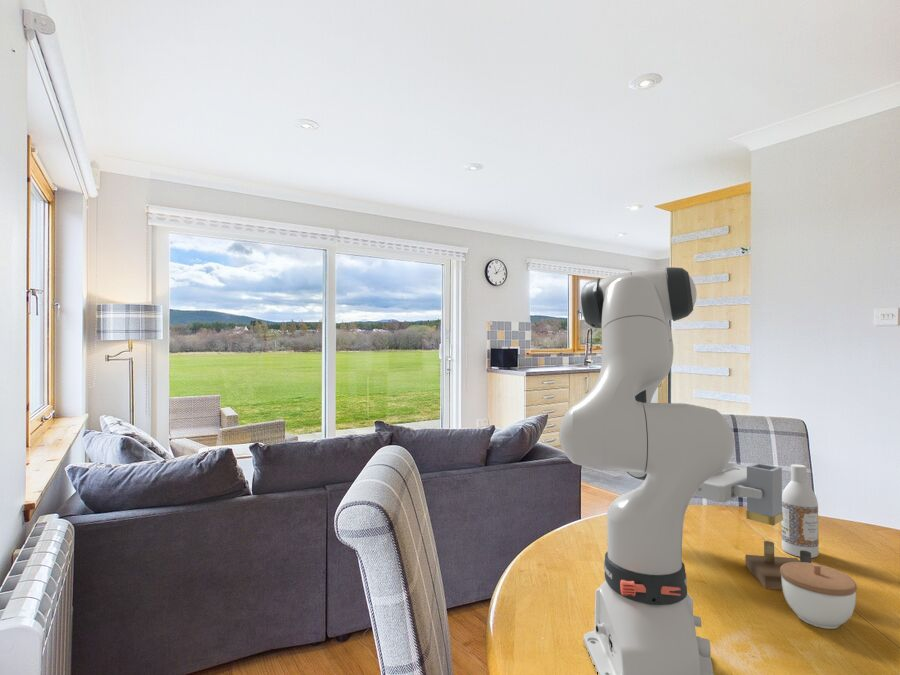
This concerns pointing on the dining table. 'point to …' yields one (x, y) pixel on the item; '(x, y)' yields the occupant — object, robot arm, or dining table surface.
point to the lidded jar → (818, 593)
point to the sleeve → (765, 493)
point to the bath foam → (799, 515)
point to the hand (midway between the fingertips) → (769, 491)
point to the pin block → (771, 565)
